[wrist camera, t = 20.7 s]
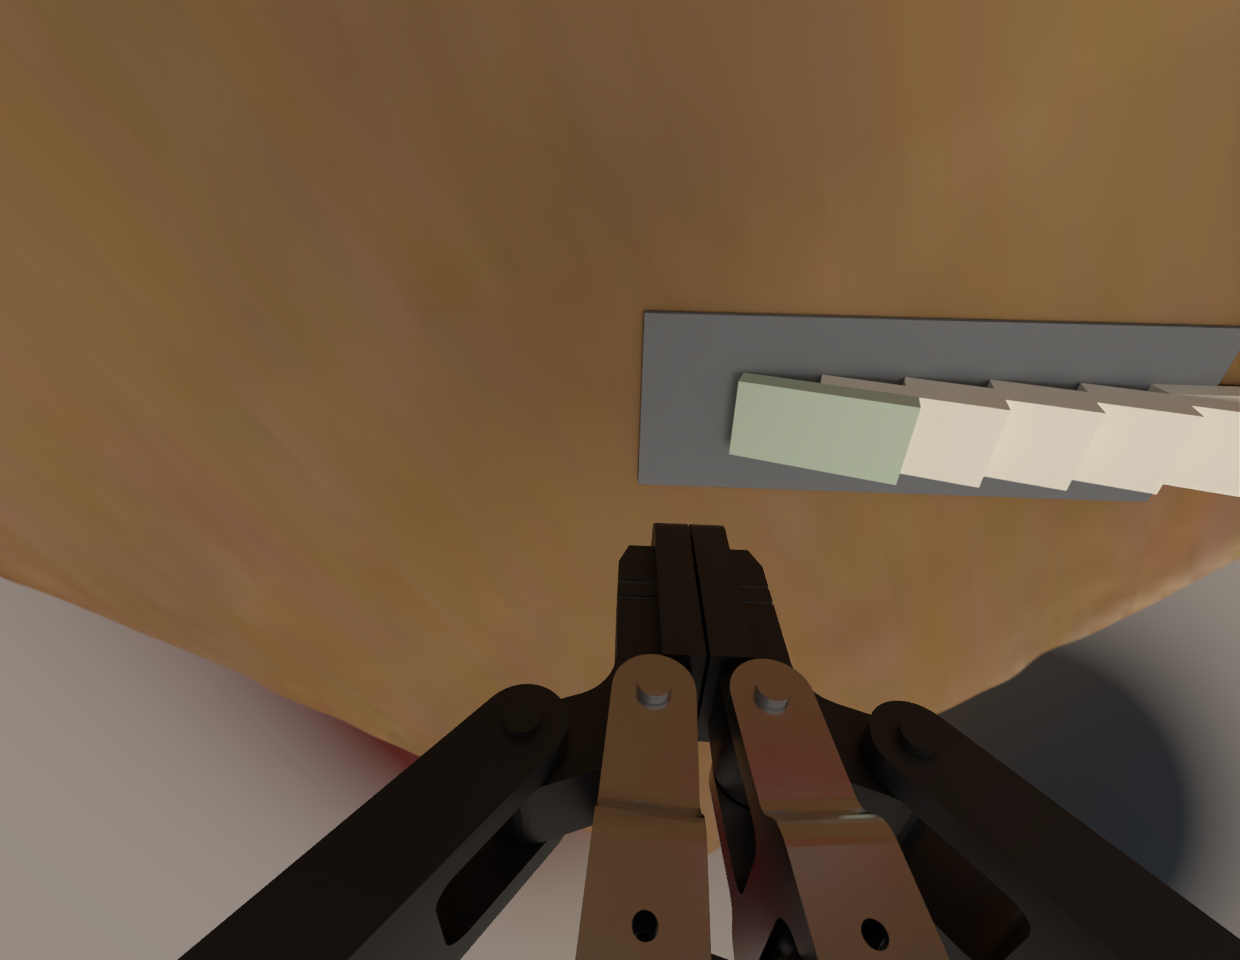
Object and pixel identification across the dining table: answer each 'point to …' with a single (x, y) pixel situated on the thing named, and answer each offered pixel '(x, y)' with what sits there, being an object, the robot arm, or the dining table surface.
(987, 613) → the dining table surface
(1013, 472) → the domino
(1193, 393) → the domino
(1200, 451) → the domino
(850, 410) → the domino
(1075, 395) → the domino
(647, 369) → the mat
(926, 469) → the domino
